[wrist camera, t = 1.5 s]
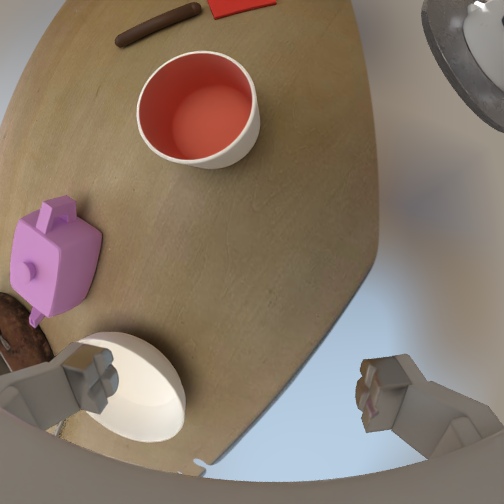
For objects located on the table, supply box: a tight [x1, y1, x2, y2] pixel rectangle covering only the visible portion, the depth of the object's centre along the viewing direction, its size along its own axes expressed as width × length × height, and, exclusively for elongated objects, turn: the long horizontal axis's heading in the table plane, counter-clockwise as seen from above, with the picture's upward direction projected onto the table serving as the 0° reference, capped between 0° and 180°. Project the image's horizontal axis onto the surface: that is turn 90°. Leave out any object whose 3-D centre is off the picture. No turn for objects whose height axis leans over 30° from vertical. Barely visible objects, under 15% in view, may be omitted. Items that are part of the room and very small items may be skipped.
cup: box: [137, 51, 260, 169], centre depth 25 cm, size 10×10×10 cm
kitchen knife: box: [54, 420, 64, 437], centre depth 44 cm, size 4×1×30 cm
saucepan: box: [0, 293, 54, 376], centre depth 35 cm, size 30×22×11 cm
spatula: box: [115, 0, 276, 47], centre depth 25 cm, size 21×5×2 cm, turn 107°
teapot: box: [10, 195, 102, 328], centre depth 30 cm, size 18×10×10 cm, turn 153°
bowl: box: [77, 332, 186, 442], centre depth 35 cm, size 18×18×7 cm
